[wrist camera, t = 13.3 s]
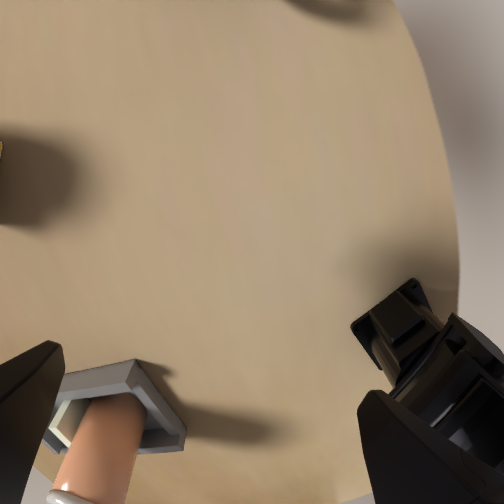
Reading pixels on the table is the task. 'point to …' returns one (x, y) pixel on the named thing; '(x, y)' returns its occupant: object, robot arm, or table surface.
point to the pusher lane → (119, 381)
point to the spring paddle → (69, 419)
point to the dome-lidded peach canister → (101, 453)
